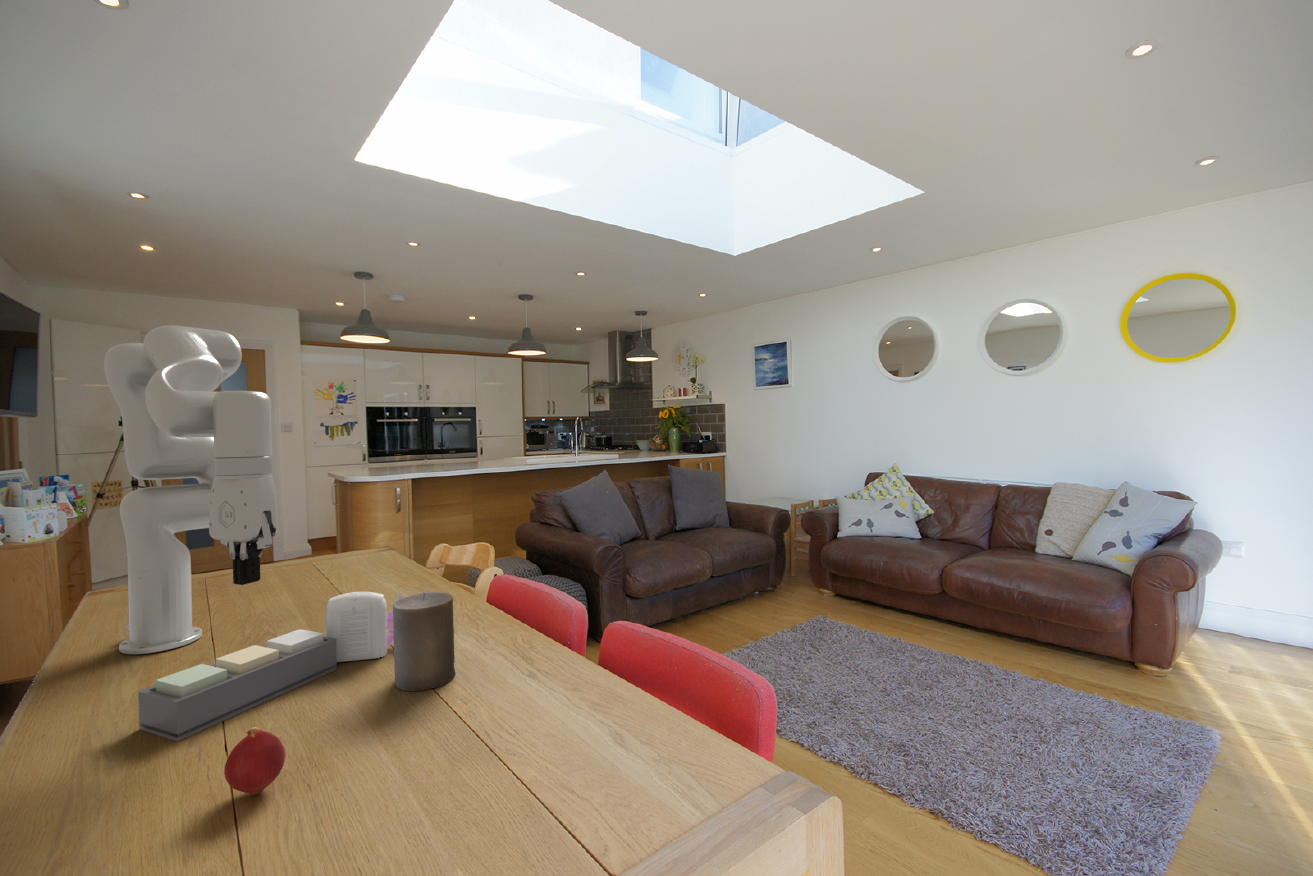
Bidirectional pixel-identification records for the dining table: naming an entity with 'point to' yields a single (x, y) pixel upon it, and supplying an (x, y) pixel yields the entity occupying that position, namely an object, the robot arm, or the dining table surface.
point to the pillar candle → (423, 641)
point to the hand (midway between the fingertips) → (247, 582)
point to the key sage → (190, 680)
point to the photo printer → (358, 625)
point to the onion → (255, 762)
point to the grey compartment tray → (233, 693)
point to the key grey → (295, 641)
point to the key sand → (247, 659)
